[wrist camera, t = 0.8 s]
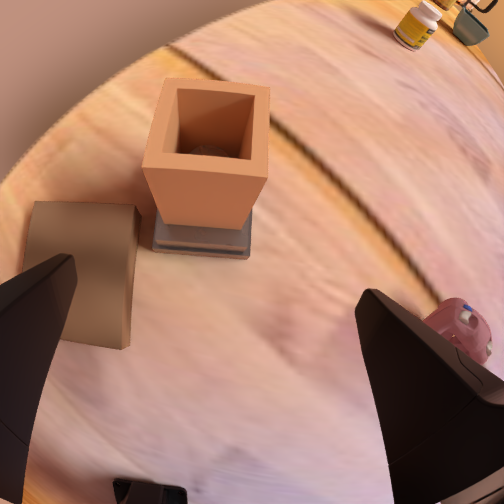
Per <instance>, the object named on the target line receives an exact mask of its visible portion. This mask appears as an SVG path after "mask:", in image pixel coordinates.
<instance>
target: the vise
mask: <svg viewBox="0 0 504 504" xmlns="http://www.w3.org/2000/svg"><path fill="white" fill-rule="evenodd" d="M189 154H192V155H205V156H216V157H226V158H228V156H227V154H226V153H225V152H224V151H223V150H222V149H221V148H219V147H217V146H214V145H202V146H199V147H197V148H195V149H193V150H192V151H191V152H190V153H189ZM251 225H252V209H251V211H250V213H249V215H248V217H247V219H246V221H245V223H244V225H243V227H242V229H241V230H235V229H223V228H211V227H199V226H186V225H173V224H164V222H163V220H162V217H161V215H160V212H159V210H158V208H157V214H156V221H155V229H154V237H153V245H152V249H153V250H154V251H155V252H157V253H169V254H182V255H195V256H207V257H220V258H233V259H246V260H247V259H248V258H249V257H250V246H251Z"/></svg>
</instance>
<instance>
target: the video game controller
mask: <svg viewBox="0 0 504 504" xmlns="http://www.w3.org/2000/svg"><path fill="white" fill-rule="evenodd" d="M423 322H424V323H425V324H427V325H428V326H429V327H431V328H432V329H433V330H435V331H436V332H437V333H439V334H440V335H441V336H443V337H444V338H445V339H447V340H448V341H449V342H451V343H452V344H453V345H454V346H455V347H457V348H459V349H460V350H461V351H463V352H464V353H465V354H467V355H468V356H469V357H470V358H472V359H473V360H474V361H476V362H477V363H479V364H480V365H483V364H484V363H485V362H486V361H487V359H488V357H489V356H490V355H491V349H492V336H491V331H490V328H489V326H488V324H487V322H486V320H485V319H484V318H483V317H482V316H481V315H480V314H479V313H478V312H477V311H476V310H474V309H472V308H471V307H470V306H468V303H467V302H466V301H465V300H463V299H461V298H450V299H447V300H445V301H443V302H442V303H441V304H440V305H439V306H438V309H436V310H435V311H434V312H433V313H431V314H430V315H429V316H428V317H427V318H426V319H424V320H423ZM453 334H454V335H455V336H454V337H452V336H453ZM451 337H452V338H451Z"/></svg>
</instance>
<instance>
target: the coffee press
mask: <svg viewBox="0 0 504 504" xmlns="http://www.w3.org/2000/svg"><path fill="white" fill-rule="evenodd" d="M458 1H459V2H460V3H461V4H462V8H463V7H464V8H468V10H469V9H471V11H469V12H472V8H473V7H475V8H476V9H477V10H478V11H480V12H482V13H487V12H489V11H490V10H491V9H492V8H493V7H494V6H495V5H496V3H497V2H498V0H493V1H492V2H491V3H490V4H489V6H488V7H487V8H486V9H484V10H482V9H480V8H479V7H478V6H477V5H476V4H477V3H478V2H479V1H480V0H458Z"/></svg>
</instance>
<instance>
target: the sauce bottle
mask: <svg viewBox="0 0 504 504" xmlns="http://www.w3.org/2000/svg"><path fill="white" fill-rule="evenodd" d="M456 1H457V0H434V2H435V3H436V4H437V5H439V6H440V7H441V8H442V9H444V10H446V11H448V10H449V9H450V8H451V7H452V6H453V4H454V3H455V2H456Z"/></svg>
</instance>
